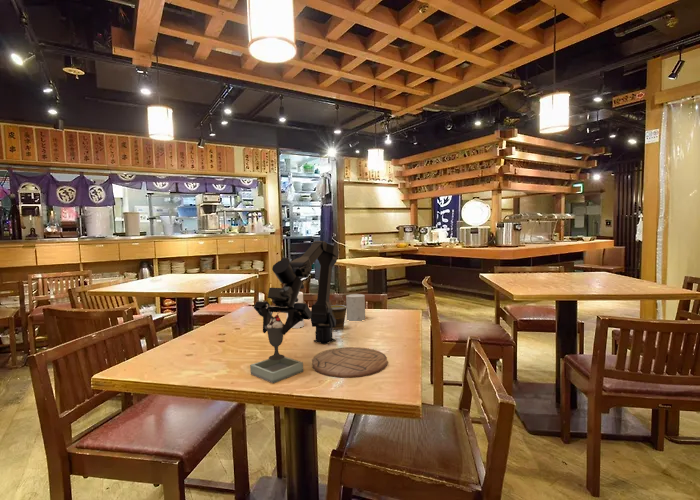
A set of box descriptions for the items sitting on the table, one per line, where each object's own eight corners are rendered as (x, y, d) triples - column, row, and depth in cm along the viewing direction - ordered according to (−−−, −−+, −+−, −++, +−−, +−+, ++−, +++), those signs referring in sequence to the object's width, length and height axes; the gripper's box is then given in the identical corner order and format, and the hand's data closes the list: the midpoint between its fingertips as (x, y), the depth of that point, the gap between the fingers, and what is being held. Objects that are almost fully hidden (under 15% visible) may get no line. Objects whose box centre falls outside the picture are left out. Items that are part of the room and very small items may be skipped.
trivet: (366, 384, 104) (365, 378, 104) (296, 370, 116) (296, 365, 116) (398, 358, 125) (398, 352, 125) (337, 348, 138) (336, 343, 138)
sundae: (287, 360, 111) (285, 312, 110) (264, 362, 110) (262, 313, 109) (288, 353, 117) (286, 307, 117) (267, 354, 117) (265, 308, 116)
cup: (302, 328, 168) (301, 294, 168) (285, 328, 168) (283, 294, 168) (305, 324, 177) (304, 291, 176) (288, 324, 177) (287, 292, 176)
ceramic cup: (334, 324, 173) (333, 304, 173) (351, 327, 167) (350, 306, 167) (316, 331, 163) (315, 309, 162) (334, 334, 157) (333, 311, 157)
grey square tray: (280, 363, 122) (280, 355, 122) (303, 371, 114) (303, 362, 114) (250, 374, 113) (250, 364, 113) (273, 383, 105) (272, 373, 105)
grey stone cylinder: (345, 321, 179) (344, 297, 178) (348, 317, 188) (347, 294, 188) (364, 322, 177) (363, 297, 177) (366, 317, 187) (366, 294, 186)
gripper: (255, 276, 119) (235, 317, 110) (306, 277, 113) (289, 321, 103) (270, 296, 127) (252, 336, 117) (318, 298, 121) (303, 340, 111)
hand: (273, 333), depth 112 cm, fingers closed on sundae, 7 cm apart
